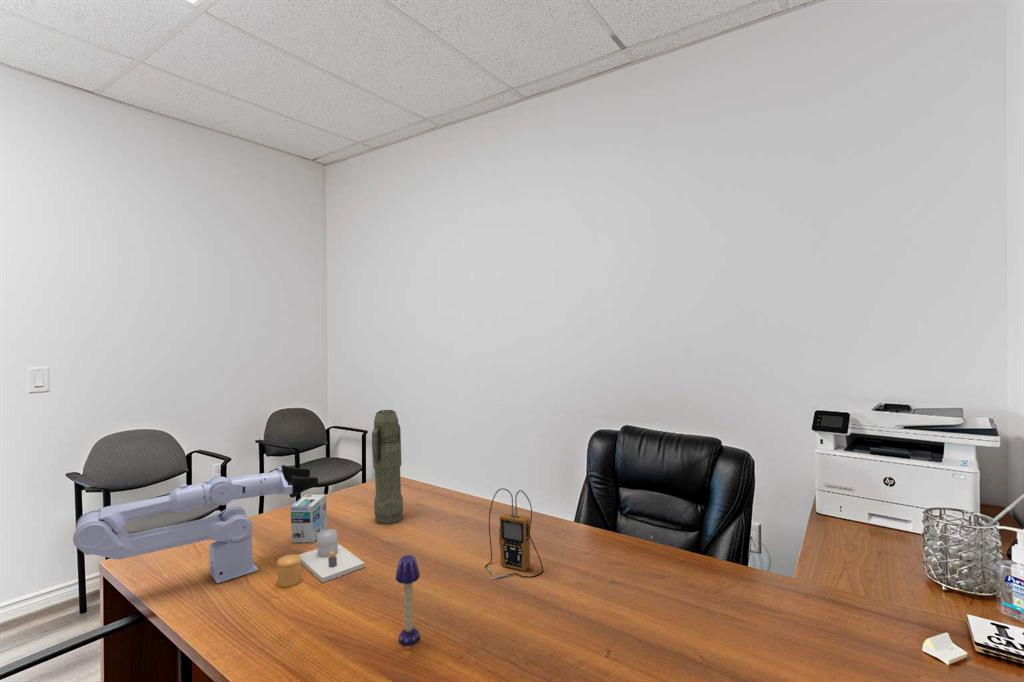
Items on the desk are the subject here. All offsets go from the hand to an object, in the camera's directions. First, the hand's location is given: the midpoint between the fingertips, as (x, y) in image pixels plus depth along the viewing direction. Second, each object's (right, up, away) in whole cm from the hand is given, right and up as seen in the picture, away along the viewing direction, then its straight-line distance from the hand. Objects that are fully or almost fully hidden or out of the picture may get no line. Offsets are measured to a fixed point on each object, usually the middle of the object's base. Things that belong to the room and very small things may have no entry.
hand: (313, 477), depth 142 cm
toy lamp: (+35, -22, -41) cm, 58 cm away
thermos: (+16, -19, +21) cm, 33 cm away
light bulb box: (-5, -20, +10) cm, 24 cm away
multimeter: (+55, -20, -15) cm, 60 cm away
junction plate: (+8, -21, -8) cm, 23 cm away
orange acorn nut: (+1, -21, -17) cm, 27 cm away
